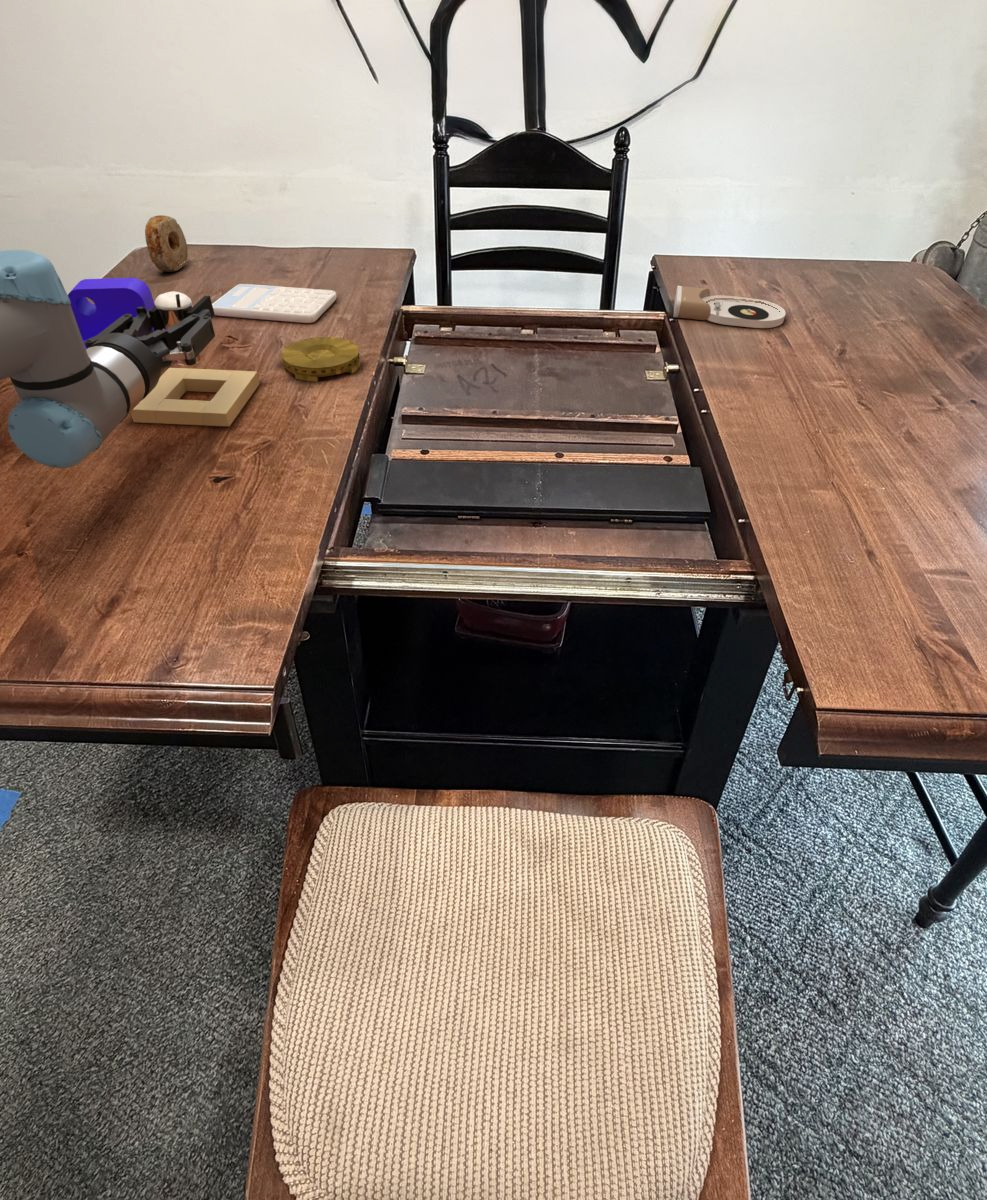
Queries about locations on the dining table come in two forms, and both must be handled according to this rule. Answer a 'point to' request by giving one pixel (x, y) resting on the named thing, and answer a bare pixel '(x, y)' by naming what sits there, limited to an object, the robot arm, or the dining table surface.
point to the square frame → (217, 412)
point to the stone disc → (166, 243)
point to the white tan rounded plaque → (726, 309)
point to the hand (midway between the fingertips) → (191, 305)
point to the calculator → (274, 303)
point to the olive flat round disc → (321, 357)
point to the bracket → (107, 302)
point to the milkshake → (173, 311)
